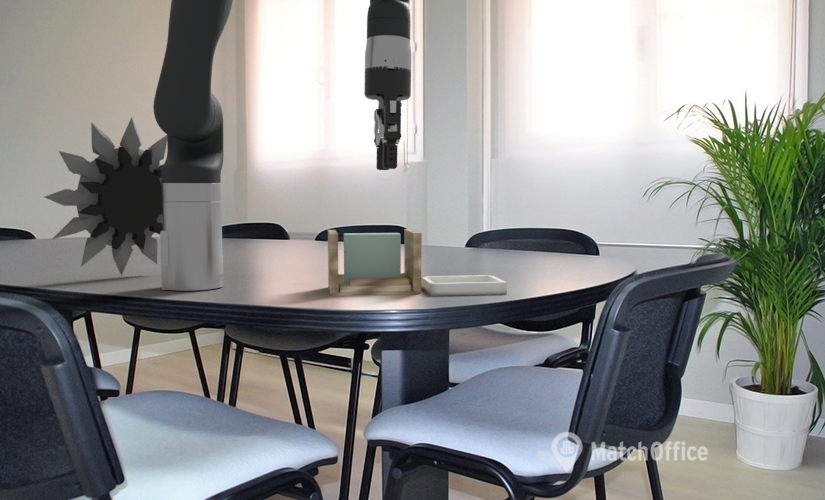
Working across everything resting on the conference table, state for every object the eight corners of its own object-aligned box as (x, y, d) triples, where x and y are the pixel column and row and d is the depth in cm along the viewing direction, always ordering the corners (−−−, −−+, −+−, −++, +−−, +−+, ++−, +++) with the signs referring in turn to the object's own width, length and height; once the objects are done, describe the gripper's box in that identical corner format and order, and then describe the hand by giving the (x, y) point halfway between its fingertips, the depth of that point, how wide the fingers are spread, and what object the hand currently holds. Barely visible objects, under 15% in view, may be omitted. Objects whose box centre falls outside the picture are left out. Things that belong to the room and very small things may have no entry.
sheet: (345, 287, 108) (344, 234, 107) (344, 284, 111) (343, 233, 110) (400, 286, 109) (400, 234, 108) (398, 283, 112) (398, 232, 111)
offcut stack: (340, 292, 103) (340, 281, 103) (339, 289, 106) (339, 279, 105) (411, 290, 104) (411, 280, 104) (408, 287, 107) (408, 277, 107)
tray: (430, 296, 102) (430, 283, 102) (420, 288, 111) (420, 276, 111) (506, 295, 104) (507, 282, 104) (491, 286, 113) (491, 275, 112)
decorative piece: (97, 312, 121) (15, 161, 105) (85, 307, 123) (4, 159, 107) (224, 228, 139) (171, 90, 124) (212, 225, 142) (158, 89, 126)
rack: (330, 296, 102) (329, 233, 101) (328, 287, 112) (327, 229, 111) (421, 294, 104) (421, 232, 103) (411, 285, 114) (411, 229, 113)
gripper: (360, 74, 115) (359, 170, 116) (369, 59, 101) (368, 167, 102) (404, 77, 116) (402, 171, 118) (418, 61, 102) (416, 168, 104)
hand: (386, 169), depth 110 cm, fingers open, 8 cm apart
